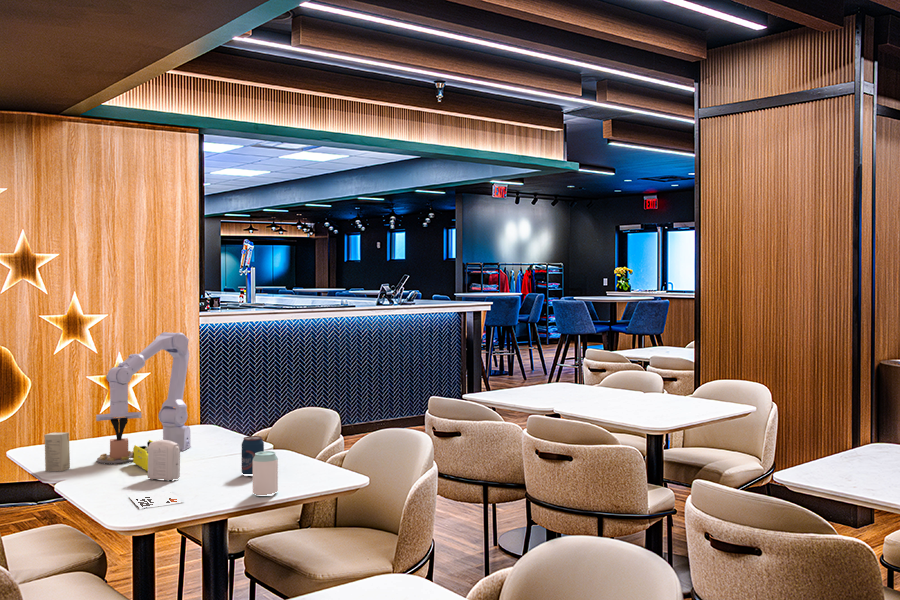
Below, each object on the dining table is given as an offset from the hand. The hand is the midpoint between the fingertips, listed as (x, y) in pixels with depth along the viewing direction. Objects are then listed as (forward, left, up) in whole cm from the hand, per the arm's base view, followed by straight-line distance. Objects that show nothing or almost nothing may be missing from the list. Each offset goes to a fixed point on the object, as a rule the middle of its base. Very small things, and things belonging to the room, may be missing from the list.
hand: (119, 439), depth 263 cm
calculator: (-36, +52, -8) cm, 64 cm away
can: (-65, +45, -7) cm, 79 cm away
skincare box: (+13, +16, -7) cm, 22 cm away
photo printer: (-28, +28, -7) cm, 40 cm away
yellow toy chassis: (-15, +11, -8) cm, 20 cm away
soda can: (-54, +21, -7) cm, 58 cm away
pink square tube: (0, 0, -6) cm, 6 cm away
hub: (0, 0, -7) cm, 7 cm away
